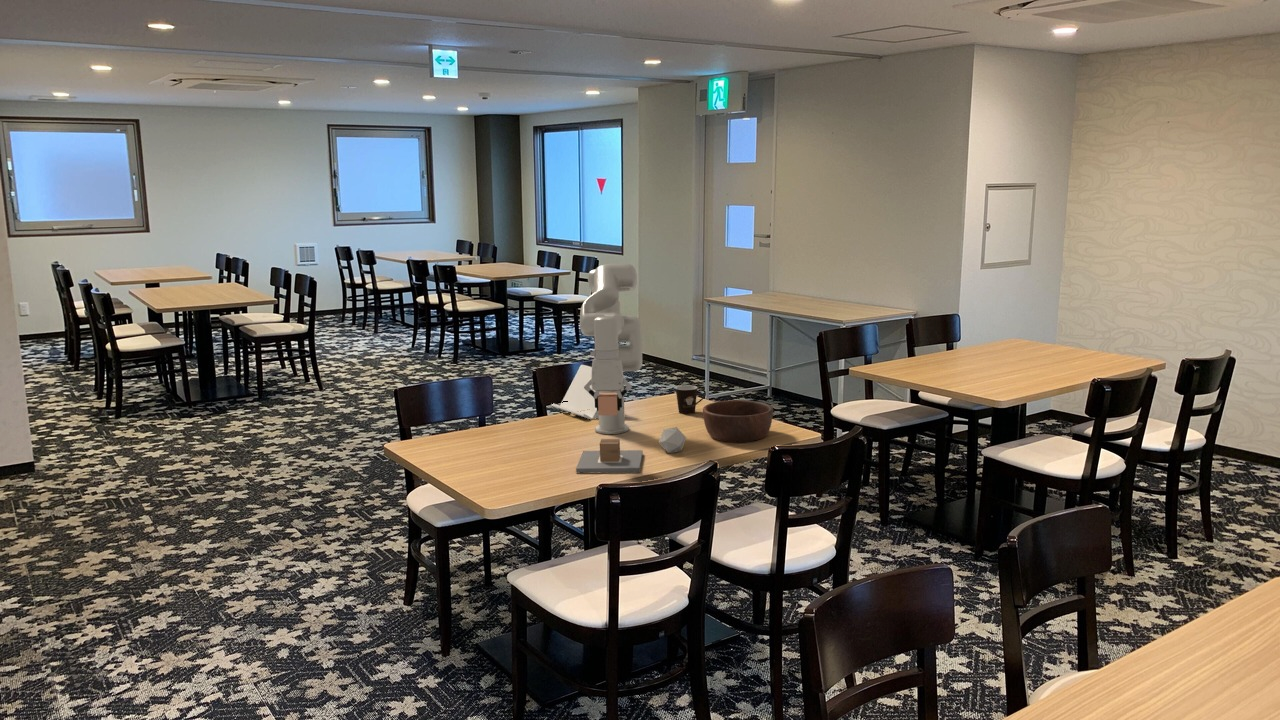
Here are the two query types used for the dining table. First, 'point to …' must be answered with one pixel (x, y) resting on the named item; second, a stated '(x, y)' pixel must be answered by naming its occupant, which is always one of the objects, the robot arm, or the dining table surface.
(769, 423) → the wooden bowl
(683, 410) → the coffee mug
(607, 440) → the walnut block
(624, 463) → the baseboard
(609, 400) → the terracotta block
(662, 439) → the die
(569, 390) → the tablet stand
